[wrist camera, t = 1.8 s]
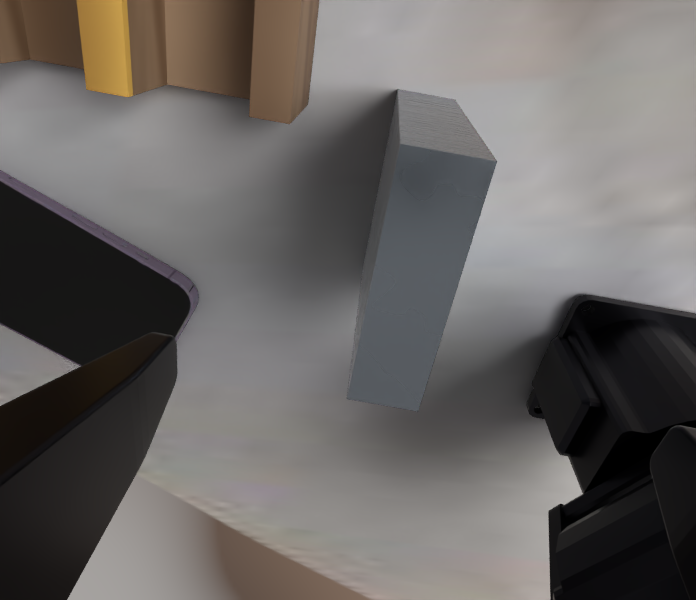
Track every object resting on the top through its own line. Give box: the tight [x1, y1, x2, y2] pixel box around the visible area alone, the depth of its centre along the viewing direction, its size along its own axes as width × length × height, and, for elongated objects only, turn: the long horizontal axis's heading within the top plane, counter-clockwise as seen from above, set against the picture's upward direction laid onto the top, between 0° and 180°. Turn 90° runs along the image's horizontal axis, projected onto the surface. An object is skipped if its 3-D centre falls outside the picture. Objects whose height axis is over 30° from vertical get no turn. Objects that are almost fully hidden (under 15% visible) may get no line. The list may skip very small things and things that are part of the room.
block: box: [347, 89, 497, 411], centre depth 15 cm, size 2×7×8 cm, turn 171°
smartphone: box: [0, 170, 199, 366], centre depth 22 cm, size 7×1×15 cm
